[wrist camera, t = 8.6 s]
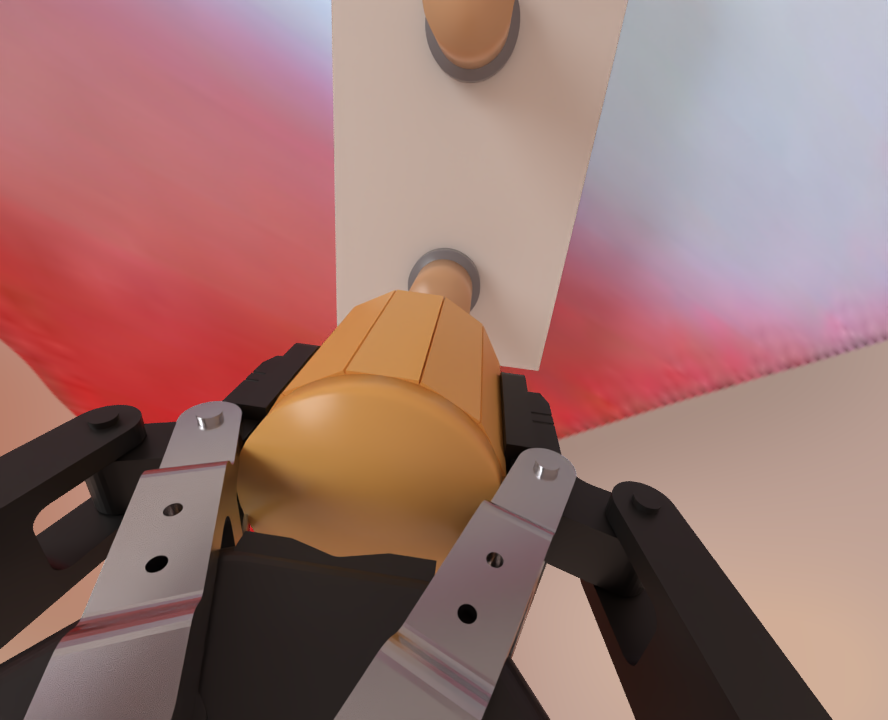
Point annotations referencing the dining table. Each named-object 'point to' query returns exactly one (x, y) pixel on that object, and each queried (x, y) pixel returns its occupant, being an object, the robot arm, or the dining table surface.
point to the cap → (382, 434)
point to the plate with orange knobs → (466, 152)
